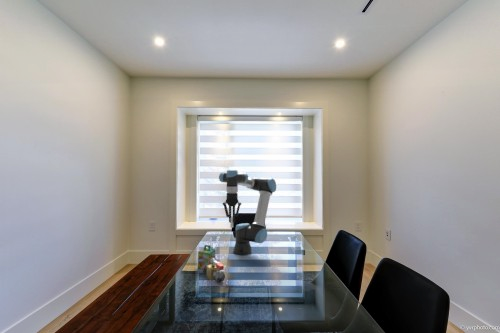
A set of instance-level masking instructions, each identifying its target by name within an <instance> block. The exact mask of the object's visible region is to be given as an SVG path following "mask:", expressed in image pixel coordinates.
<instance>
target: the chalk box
mask: <svg viewBox="0 0 500 333" xmlns="http://www.w3.org/2000/svg"><path fill="white" fill-rule="evenodd" d="M211 258H216V249H214V248H211V245H207V244H205V245H203V248H201V250H199V251H197V269H199V270H202V266H203V264H204V263H206V262H209V263H210V259H211Z"/></svg>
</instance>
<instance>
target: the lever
mask: <svg viewBox="0 0 500 333" xmlns="http://www.w3.org/2000/svg"><path fill="white" fill-rule="evenodd" d="M210 264H214V265H215V266H216V268H218V269H219V270H220V271H223V270H225V268H224V264H223V263H221V262H219V261H218V260H217V258H216V257H215V258H211V259H210Z"/></svg>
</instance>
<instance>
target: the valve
mask: <svg viewBox="0 0 500 333" xmlns="http://www.w3.org/2000/svg"><path fill="white" fill-rule="evenodd" d="M201 271H202V273H205V274H206V278H208V279H209V280H210V281H215V282H216V283H217V284H222V283H223V282H224V280H225V279H226V273H225V272H224V271H223V270H219V269H218V268H216V266H215V265H214V264H210V263H209V262H206V263H204V264H203V266H202V269H201Z"/></svg>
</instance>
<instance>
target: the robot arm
mask: <svg viewBox="0 0 500 333" xmlns="http://www.w3.org/2000/svg"><path fill="white" fill-rule="evenodd" d="M218 180H219V182H221V183H226V199H225V201H224V202H222V205H223V207H224V211H225V217H226V218H228V222H229V223H230V229H232V228H234V223H235V222H236V218H237V217H238V215H239V211H240V208H241V205H242V202H240V201H239V198H238V192H239V191H238V189H239V187H238V186H242V187H246V188H247V189H249V190H253V191H257V192H258V193H259V197H258V202H257V207H256V212H255V216H254V220H253V222H252V223H251V224H250V223H248V222H247V223H246V222H245V223H243V222H242V223H239V224H236V225H235V243H234V247H233V254H235V255H238V256H248V255H250V254H252V251H253V250H252V247H251V243H250V242H252V243H256V244H263V243H264V242H265V241H266V239H267V238H268V229H266V228H267V227H266V224H265V223H266V218H267V213H268V210H269V209H268V207H269V205H270V204H269V202H270V198H271V196H273V193H275V192H276V190H277V183H276V180H275V179H274V178H272V177H249V175H248V173H246V172H238V170H237V169H228V170H227V171H226V172H225V171H224V172H220V173H219V175H218ZM236 207H237V208H236Z"/></svg>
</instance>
